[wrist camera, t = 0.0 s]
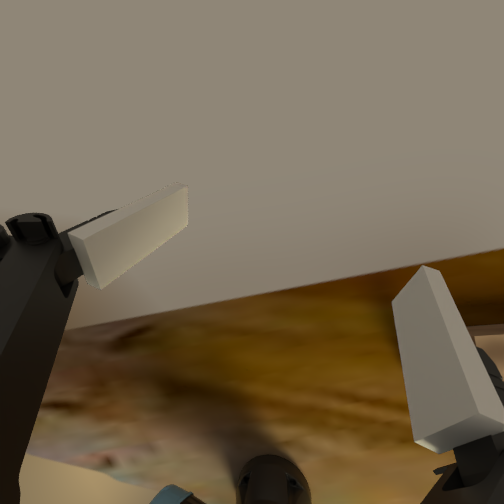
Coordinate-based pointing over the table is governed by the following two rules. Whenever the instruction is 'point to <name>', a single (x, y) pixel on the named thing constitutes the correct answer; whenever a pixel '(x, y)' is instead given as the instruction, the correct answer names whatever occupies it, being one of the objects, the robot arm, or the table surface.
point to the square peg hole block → (490, 342)
